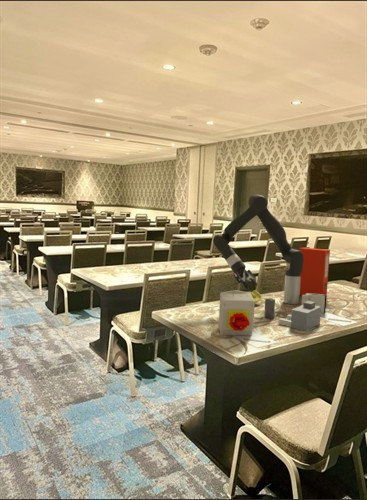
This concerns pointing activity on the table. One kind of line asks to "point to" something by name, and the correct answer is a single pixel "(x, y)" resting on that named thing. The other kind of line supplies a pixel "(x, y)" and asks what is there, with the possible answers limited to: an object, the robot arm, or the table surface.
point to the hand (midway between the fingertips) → (252, 287)
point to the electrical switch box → (236, 313)
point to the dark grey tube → (269, 308)
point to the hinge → (316, 300)
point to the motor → (303, 316)
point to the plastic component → (256, 296)
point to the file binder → (314, 271)
